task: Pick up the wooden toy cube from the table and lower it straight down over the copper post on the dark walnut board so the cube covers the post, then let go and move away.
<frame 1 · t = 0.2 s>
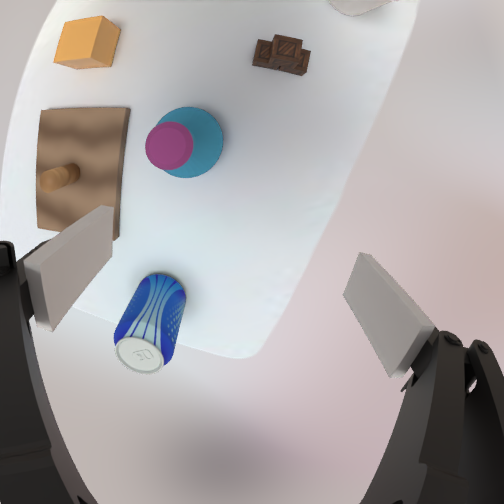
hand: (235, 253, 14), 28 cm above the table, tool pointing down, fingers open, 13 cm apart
wooden toy cube: (97, 49, 30), on the table
foam cup: (346, 1, 29), on the table
perfume bottle: (192, 141, 37), on the table
post board: (78, 170, 37), on the table
beer can: (163, 291, 47), on the table
stack of crates: (278, 69, 34), on the table
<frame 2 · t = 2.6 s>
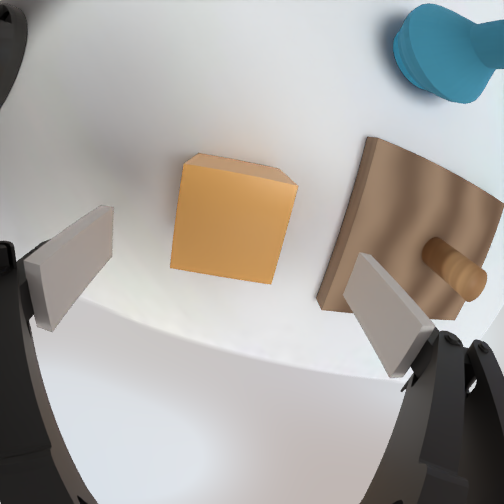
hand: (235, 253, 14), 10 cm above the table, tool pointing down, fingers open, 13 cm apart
wooden toy cube: (230, 199, 23), on the table
perfume bottle: (420, 58, 18), on the table
post board: (422, 243, 26), on the table
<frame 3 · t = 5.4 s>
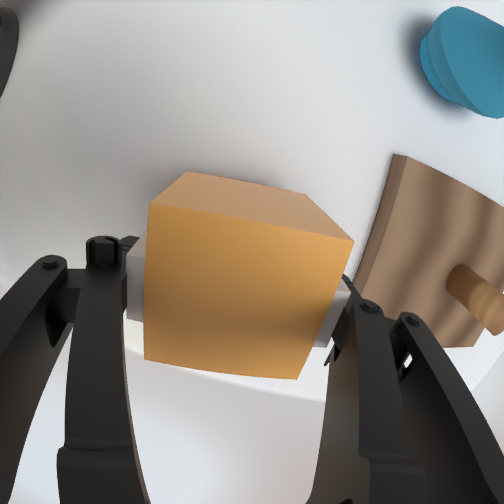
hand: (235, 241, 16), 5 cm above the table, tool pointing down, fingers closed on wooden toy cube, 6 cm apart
wooden toy cube: (235, 237, 16), point 4 cm above the table, touching gripper
perfume bottle: (447, 67, 16), on the table
post board: (446, 269, 23), on the table
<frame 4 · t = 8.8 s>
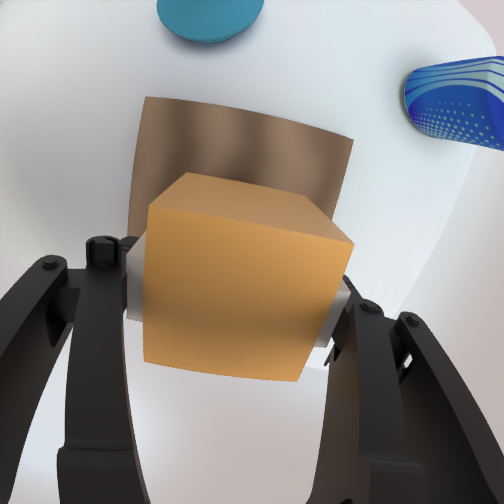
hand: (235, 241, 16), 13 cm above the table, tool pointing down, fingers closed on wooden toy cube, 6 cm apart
wooden toy cube: (235, 239, 16), point 13 cm above the table, touching gripper
perfume bottle: (213, 16, 21), on the table
post board: (233, 190, 28), on the table
beer can: (425, 102, 25), on the table
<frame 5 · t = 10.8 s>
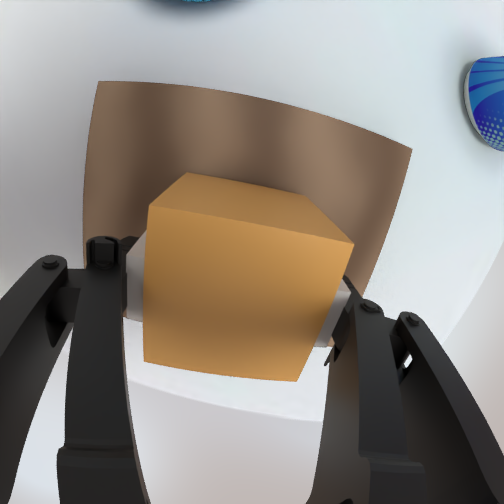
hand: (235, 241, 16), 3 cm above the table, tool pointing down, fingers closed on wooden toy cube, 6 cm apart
wooden toy cube: (235, 239, 16), point 3 cm above the table, touching gripper
post board: (234, 221, 19), on the table
beer can: (485, 103, 16), on the table
when the fingers open (3 cm above the table, at t = 12.1 s): wooden toy cube stays where it is, resting on post board.
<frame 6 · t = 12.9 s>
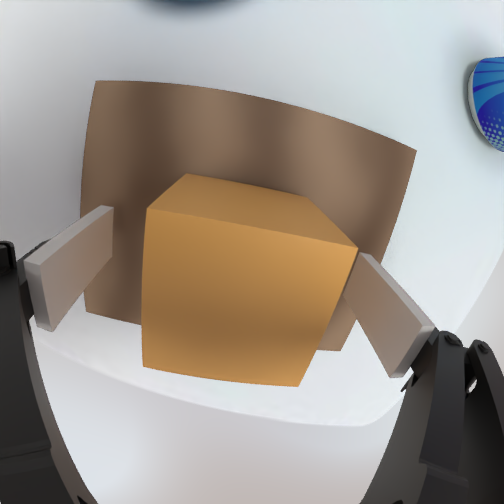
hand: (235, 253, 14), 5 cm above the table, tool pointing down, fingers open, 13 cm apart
wooden toy cube: (235, 241, 16), point 3 cm above the table, touching post board
post board: (235, 224, 18), on the table
beer can: (489, 104, 15), on the table
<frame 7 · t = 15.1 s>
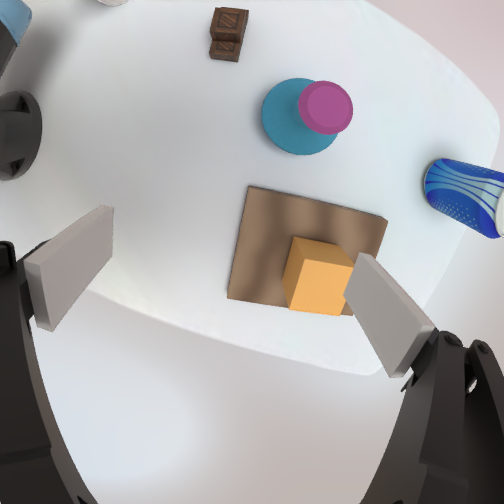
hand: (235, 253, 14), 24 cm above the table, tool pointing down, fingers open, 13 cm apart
wooden toy cube: (310, 263, 38), point 3 cm above the table, touching post board
perfume bottle: (294, 118, 33), on the table
post board: (306, 254, 41), on the table
beer can: (438, 183, 37), on the table
stack of crates: (241, 39, 29), on the table
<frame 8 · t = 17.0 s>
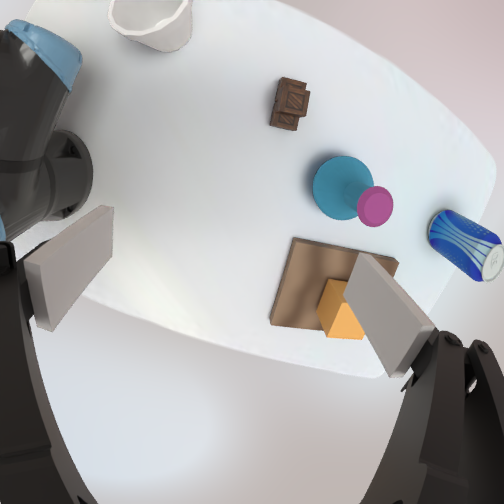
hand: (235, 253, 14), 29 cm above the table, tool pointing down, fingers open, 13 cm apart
wooden toy cube: (339, 297, 47), point 3 cm above the table, touching post board
foam cup: (171, 34, 31), on the table
perfume bottle: (333, 182, 42), on the table
post board: (333, 288, 49), on the table
beer can: (440, 228, 46), on the table
stack of crates: (294, 106, 38), on the table
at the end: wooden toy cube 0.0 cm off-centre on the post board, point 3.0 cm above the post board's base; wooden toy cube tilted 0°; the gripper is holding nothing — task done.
